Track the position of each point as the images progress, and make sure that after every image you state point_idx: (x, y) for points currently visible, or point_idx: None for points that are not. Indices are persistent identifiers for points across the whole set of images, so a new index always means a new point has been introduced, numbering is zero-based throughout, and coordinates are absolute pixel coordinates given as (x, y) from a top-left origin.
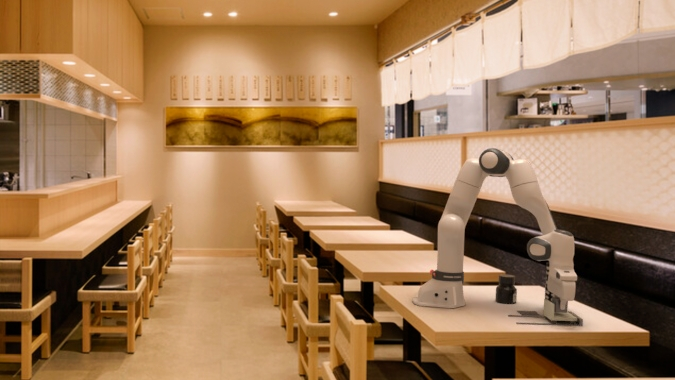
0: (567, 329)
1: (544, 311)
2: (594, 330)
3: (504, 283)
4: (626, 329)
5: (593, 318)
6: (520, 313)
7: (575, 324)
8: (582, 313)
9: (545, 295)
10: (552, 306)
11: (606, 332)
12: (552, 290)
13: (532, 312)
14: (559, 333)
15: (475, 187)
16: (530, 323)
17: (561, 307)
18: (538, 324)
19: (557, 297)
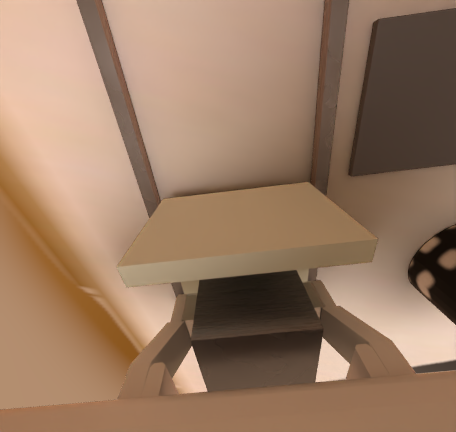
0: (114, 246)
1: (299, 192)
2: (148, 324)
3: None
4: (199, 385)
5: (323, 348)
6: (440, 20)
7: (180, 290)
8: (396, 335)
9: None
10: (127, 257)
11: (137, 346)
12: (416, 429)
13: (447, 135)
14: (3, 197)
15: None
16: (88, 35)
17: (176, 308)
18: (114, 106)
19: (305, 360)
